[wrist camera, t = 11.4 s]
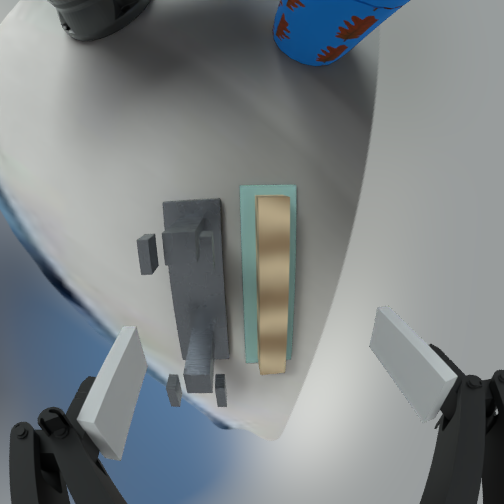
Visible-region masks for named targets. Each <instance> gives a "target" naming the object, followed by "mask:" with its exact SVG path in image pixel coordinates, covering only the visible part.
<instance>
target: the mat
mask: <svg viewBox="0 0 504 504" xmlns="http://www.w3.org/2000/svg"><path fill="white" fill-rule="evenodd" d="M255 195H285V196H288V197H290V262H289V300H288V326H287V347H286V360H289V359H291V352H292V336H293V317H294V294H295V263H296V185H243V186H240V216H241V248H242V277H243V304H244V329H245V353H246V363H255V362H258V347H257V284H256V228H255Z"/></svg>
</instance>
